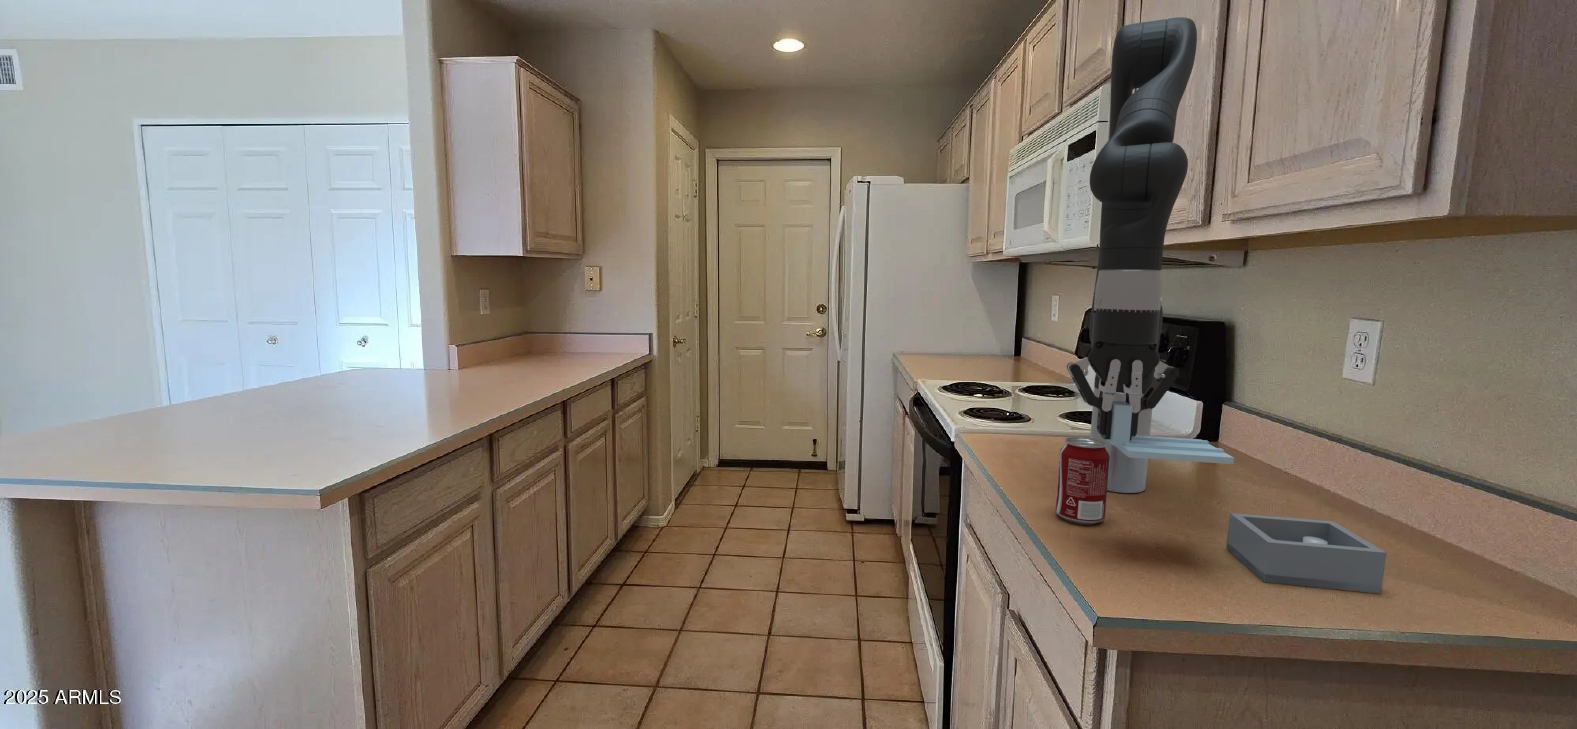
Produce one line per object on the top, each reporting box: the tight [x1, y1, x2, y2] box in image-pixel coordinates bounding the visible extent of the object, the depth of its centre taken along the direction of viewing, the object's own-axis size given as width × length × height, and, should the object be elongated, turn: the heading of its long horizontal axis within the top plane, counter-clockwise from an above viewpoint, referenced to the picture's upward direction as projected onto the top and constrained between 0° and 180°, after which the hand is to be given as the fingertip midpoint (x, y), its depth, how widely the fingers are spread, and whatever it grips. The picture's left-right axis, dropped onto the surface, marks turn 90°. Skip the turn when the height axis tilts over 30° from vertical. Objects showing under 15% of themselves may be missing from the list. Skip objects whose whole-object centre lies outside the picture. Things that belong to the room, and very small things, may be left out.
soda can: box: [1055, 436, 1110, 526], centre depth 96 cm, size 7×7×12 cm
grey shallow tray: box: [1225, 512, 1387, 595], centre depth 80 cm, size 10×12×5 cm
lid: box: [1106, 400, 1235, 465], centre depth 82 cm, size 10×13×6 cm
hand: (1115, 438), depth 84 cm, fingers closed on lid
